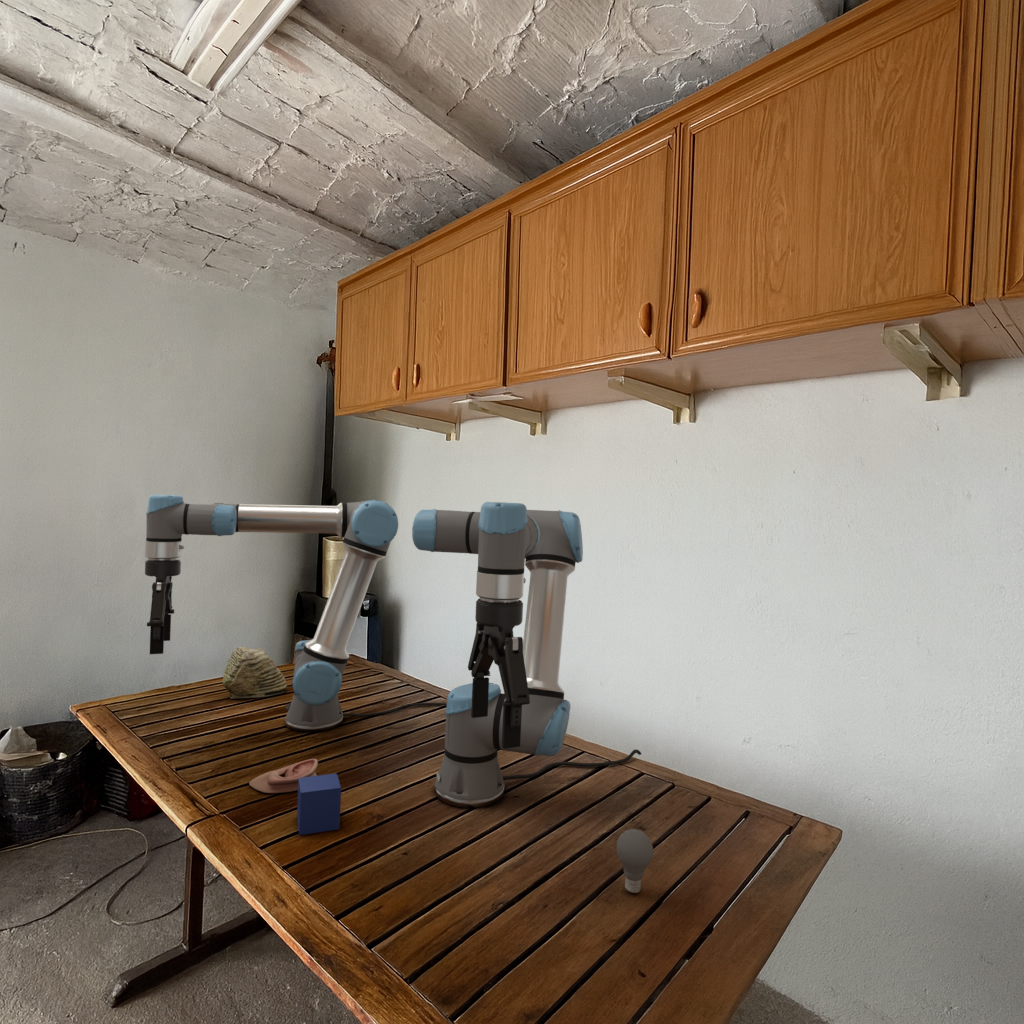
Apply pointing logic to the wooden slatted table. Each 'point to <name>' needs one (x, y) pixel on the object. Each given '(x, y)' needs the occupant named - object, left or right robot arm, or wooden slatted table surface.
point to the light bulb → (634, 857)
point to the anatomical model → (284, 777)
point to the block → (318, 804)
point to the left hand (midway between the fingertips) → (160, 647)
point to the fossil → (252, 674)
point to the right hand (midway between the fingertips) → (494, 730)
